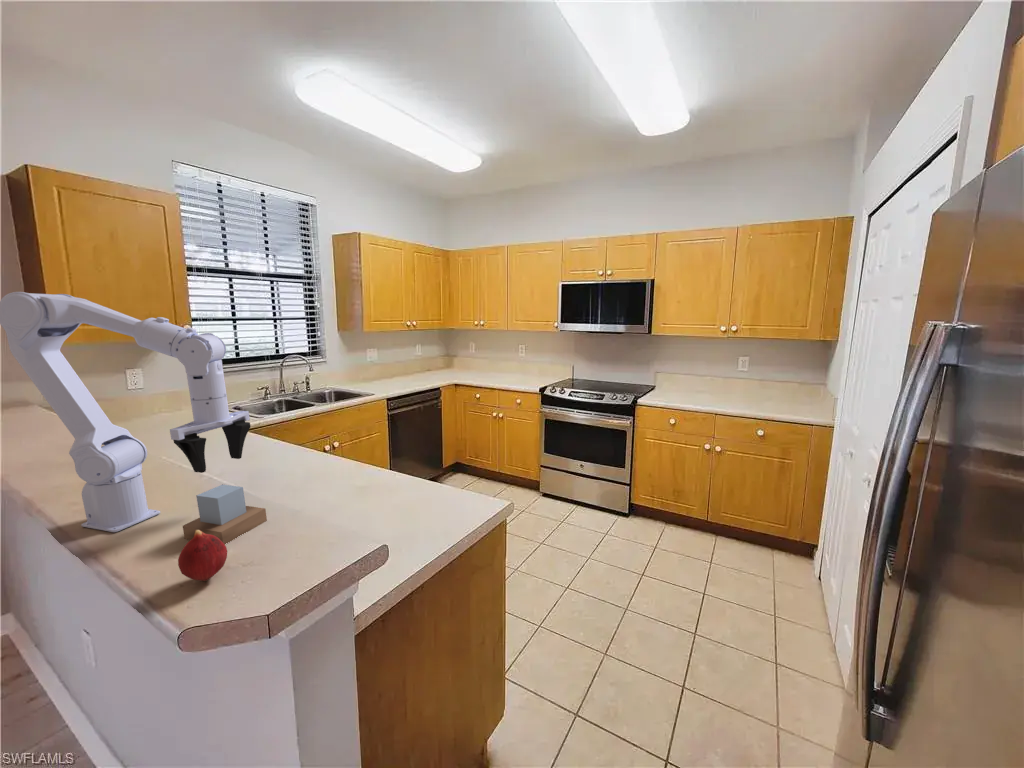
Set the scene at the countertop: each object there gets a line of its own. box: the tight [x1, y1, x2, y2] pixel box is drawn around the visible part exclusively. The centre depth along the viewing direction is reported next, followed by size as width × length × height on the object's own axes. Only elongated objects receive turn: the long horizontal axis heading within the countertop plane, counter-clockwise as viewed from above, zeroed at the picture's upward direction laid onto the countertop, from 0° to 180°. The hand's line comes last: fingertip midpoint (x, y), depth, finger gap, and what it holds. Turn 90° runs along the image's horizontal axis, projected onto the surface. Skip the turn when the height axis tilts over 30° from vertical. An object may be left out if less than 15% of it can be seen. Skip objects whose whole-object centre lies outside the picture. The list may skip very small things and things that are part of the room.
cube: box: [196, 484, 247, 525], centre depth 77 cm, size 5×5×5 cm
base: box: [182, 505, 268, 545], centre depth 78 cm, size 9×9×3 cm
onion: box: [177, 530, 228, 582], centre depth 62 cm, size 6×6×8 cm
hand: (219, 464), depth 84 cm, fingers open, 7 cm apart
